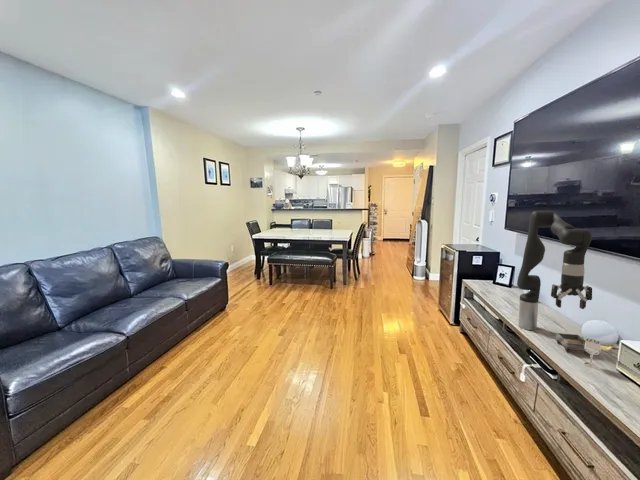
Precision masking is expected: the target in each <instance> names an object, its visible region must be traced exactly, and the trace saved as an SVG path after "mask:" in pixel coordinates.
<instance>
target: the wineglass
mask: <svg viewBox="0 0 640 480" xmlns="http://www.w3.org/2000/svg"><path fill="white" fill-rule="evenodd" d="M584 350H585V351H586V352H587V353H589V354H588V355H589V357H590V362H587V361H586V362H584V365H585V366H586V367H589V368H593V369H597V368H598V366H597V364H594V363H593V358H594V356H598V355H600V354H601V352H602V347H601V343H600V341H598V340H597V339H592V338H591V339H590V338H586V339H585V343H584ZM584 350H583V351H584Z"/></svg>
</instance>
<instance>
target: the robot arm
mask: <svg viewBox="0 0 640 480" xmlns="http://www.w3.org/2000/svg"><path fill="white" fill-rule="evenodd" d="M539 228H542V229H543V228H544V229H545V228H550V230H551V232H552V234H553V235H555V236H557V237H558V239H559V241H560V243H561V244H563V245H565V246H575V247H574V248H573V249H567V250H565V251H563V257H562V264H561V265H562V266H561V277H560V284H559V285H557V284H555V283H553V284H551V290H550V291H551V292H550V296H551V298H553V299H555V306H556V307H557V308H561V307H562V299H563V298H564V297H566V296H577V297H578V298H579V309H582V310H585V309H586V306H587V302H588V301H592V300H593V287H592V286H589V285H586V286H584V279H585V257H586V254H587V251H588V248H589V247H590V244H591V242H592V240H593V235H592V233H591V231H590V230H589V229H587V228H586V229H585V228H584V229H583V228H578V229H577V228H575V227H574V226H573V225H572V224H570V223H568V222H566V221H565V220H563V219H562V217H560V215H559V214H557V213H556V212H555V211H553V210H534V211H532V212H531V214H530V216H529V223H528V233H527V238H526V239H527V240H526V243H525V248H524V252H523V256H522V257H523V259H522V264H521V267H520V270H519V273H518V277H517V282H516V284H517V285H516V286H517V288H518V289H520V290H522V291H528V292H525V293H521V294H520V296H519V306H518V307H519V308H518V309H519V310H518V324H517V325H518V327H519V328H521V329H523V330H526V329H527V330H528V331H536V330H537V328H538V317H539V316H538V315H539V314H538V313H539V301H540V300H539V299H540V291H541V285H542V284H541V283H542V281H541V278H540V276H538V275H537V274H536V275H535V274H534V275H533V274H530V272H531V271H533V269H534V268H536V267H537V266H538V265H539V264H540V263H541V262H542V261H543V260H544V258H545V252H546V247H545V244H544V243H543V241H542V240H541V238H540V236H539V234H538V230H539ZM559 289H560V290H559ZM558 291H559V292H558ZM583 291H584V292H585V294H583Z"/></svg>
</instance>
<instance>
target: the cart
mask: <svg viewBox="0 0 640 480" xmlns="http://www.w3.org/2000/svg"><path fill="white" fill-rule="evenodd" d="M555 339H556V343H557V345H562V346H563V347H564V348H565V349H564V350H565V353H570V352H571V350H575V351H584V354H585V355H590V354H589V353H587V352H586V351H585V350H584V343H585V341H586V339H584V338H583V337H582V336H580V335H579V334H572V333H563V332H556V333H555Z"/></svg>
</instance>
